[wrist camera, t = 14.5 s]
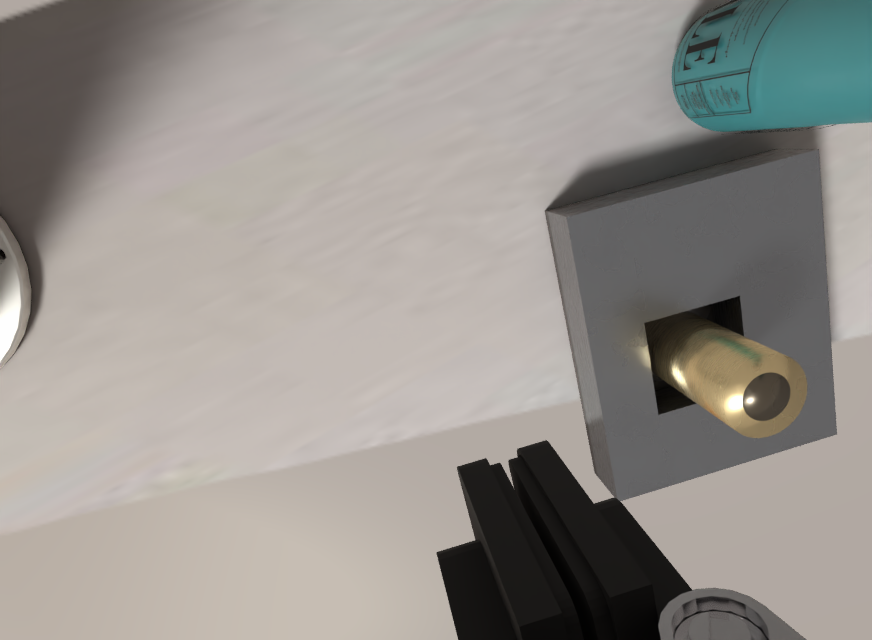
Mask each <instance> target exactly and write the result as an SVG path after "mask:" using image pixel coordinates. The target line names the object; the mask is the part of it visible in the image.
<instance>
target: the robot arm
mask: <svg viewBox="0 0 872 640" xmlns="http://www.w3.org/2000/svg"><path fill="white" fill-rule="evenodd" d="M1 249H2V250H3V252H4V253H5V256H6V258H4V257H2V256H1V255H0V369H1V368H2V367H3V366H4V364H5V363H6V362H7V361H8V360H9V359H10V358H11V356H12V355H13V354H14V353H15V351H16V349H17V347H18V345H19V343H20V342H21V340H22V338H23V336H24V334H25V331H26V327H27V323H28V319H29V316H30V310H31V285H30V279H29V273H28V267H27V264H26V262H25V259H24V256H23V254H22V251H21V249H20V246H19V243H18V242H17V240H16V238H15V237H14V235H13V234H12V232H11V230H10V229H9V227H8V225H7V224H6V222H5V221H4V219H3V218H2V217H1V216H0V250H1ZM517 456H518V457H517V458H514V459H511V460H509V468H510V472H511V476H512V481H513V485H514V488H513V486H512V484H511V482H510V480H509V478H508V477H507V475H506V473H505V471H504V469H503V467H502V465H501V464H500V463H497V464H494V465H489V462H488V460H487V459H486V458H485V459H482V460H478V461H475V462H472V463H468V464H465V465H462V466H458V467H457V470H458V474H459V478H460V482H461V486H462V490H463V494H464V498H465V501H466V505H467V509H468V513H469V517H470V520H471V524H472V528H473V532H474V536H475V541H472V542H469V543H465V544H462V545H459V546H456V547H452V548H449V549H446V550H443V551H439V552H437V556H438V561H439V565H440V569H441V572H442V576H443V580H444V584H445V588H446V592H447V596H448V600H449V604H450V608H451V612H452V616H453V620H454V624H455V628H456V632H457V636H458V640H806V639H805V638H804V637H803V636H801V635H800V634H799V633H798V632H796V631H795V630H794V629H792V628H791V627H790V626H789V625H788V624H787V623H785V622H784V621H783V620H782V619H780V618H779V617H778V616H777V615H775V614H774V613H773V612H772V611H770V610H769V609H768V608H767V607H766V606H764V605H763V604H761V603H759V602H758V601H756V600H755V599H753V598H751V597H750V596H747V595H744V594H741V593H738V592H735V591H733V590H726V589H719V588H705V589H695V590H692V589H691V588H690V587H689V585H688V584H687V583H686V582H685V580H684V579H683V578H682V577H681V576H680V574H679V573H678V572H677V571H676V569H675V568H674V567H673V566H672V564H671V563H670V562H669V561H668V559H666V557H665V556H664V555H663V553H662V552H661V551H660V550H659V548H658V547H657V546H656V545H655V543H654V542H653V541H652V540H651V539H650V537H649V536H648V535H647V534H646V532H645V531H644V530H643V529H642V528H641V526H640V525H639V524H638V523H637V521H636V520H635V519H634V518H633V516H632V515H631V514H630V513H629V512H628V510H627V509H626V508H625V506H623V504H622V503H621V502H620V501H619V500H618V499H617V498H611V499H608V500H605V501H601V502H598V503H595V504H593V502H592V501H591V499H590V498H589V497H588V495H587V494H586V493H585V491H584V490H583V488H582V487H581V486H580V484H579V483H578V482H577V480H576V479H575V477H574V476H573V475H572V473H571V472H570V471H569V469H568V468H567V467H566V465H565V464H564V462H563V461H562V460H561V459H560V457H559V456H558V454H557V453H556V451H555V450H554V449H553V447H552V446H551V445H550V443H549V442H548V441H547V440H546V441H542V442H539V443H535V444H532V445H529V446H526V447H522V448H519V449H518V450H517ZM514 489H515V490H514Z"/></svg>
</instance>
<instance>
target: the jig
mask: <svg viewBox="0 0 872 640" xmlns="http://www.w3.org/2000/svg"><path fill="white" fill-rule="evenodd" d="M545 214H546V220H547V225H548V230H549V235H550V241H551V246H552V251H553V256H554V262H555V267H556V272H557V277H558V283H559V288H560V293H561V298H562V304H563V309H564V314H565V319H566V325H567V330H568V335H569V340H570V346H571V351H572V356H573V361H574V367H575V372H576V377H577V382H578V388H579V393H580V398H581V403H582V408H583V413H584V419H585V424H586V430H587V435H588V440H589V445H590V450H591V455H592V460H593V466H594V471H595V474H596V475H597V476H598V477H599V479H600V480H601V481H602V482H603V484H604V485H605V486H606V487H607V489H608V490H609V491H610V492H611V494H612V495H613V496H614V497H615V498H617V499H618V500H619V501H623V500H626V499H629V498H632V497H635V496H639V495H642V494H645V493H648V492H652V491H655V490H658V489H661V488H665V487H668V486H671V485H674V484H677V483H681V482H684V481H687V480H691V479H694V478H697V477H700V476H703V475H707V474H710V473H713V472H716V471H719V470H723V469H726V468H729V467H733V466H736V465H739V464H742V463H746V462H749V461H752V460H755V459H758V458H762V457H765V456H768V455H771V454H774V453H778V452H781V451H784V450H788V449H791V448H794V447H797V446H801V445H804V444H807V443H810V442H813V441H817V440H820V439H823V438H826V437H830V436H833V435H836V434H837V429H836V412H835V397H834V382H833V365H832V350H831V334H830V318H829V302H828V287H827V271H826V255H825V240H824V224H823V208H822V193H821V177H820V161H819V149H774V150H770V151H767V152H763V153H759V154H755V155H752V156H748V157H744V158H740V159H737V160H733V161H729V162H726V163H722V164H718V165H714V166H711V167H707V168H703V169H699V170H696V171H692V172H688V173H684V174H681V175H677V176H673V177H670V178H666V179H662V180H658V181H655V182H651V183H647V184H643V185H640V186H636V187H632V188H628V189H625V190H621V191H617V192H614V193H610V194H606V195H602V196H599V197H595V198H591V199H587V200H584V201H580V202H576V203H572V204H569V205H565V206H561V207H558V208H554V209H550V210H546V211H545ZM685 311H689V312H691V313H694V314H696V315H698V316H700V317H702V318H705V319H707V320H709V321H711V322H713V323H716V324H718V325H720V326H722V327H724V328H727V329H729V330H731V331H733V332H735V333H738V334H740V335H742V336H744V337H746V338H749V339H751V340H753V341H755V342H757V343H760V344H762V345H764V346H766V347H768V348H771V349H773V350H775V351H777V352H779V353H782V354H784V355H786V356H788V357H790V358H792V359H794V360H795V361H796V362H797V363H798V364H799V365H800V366H801V368H802V369H803V371H804V373H805V376H806V379H807V396H806V400H805V403H804V406H803V408H802V410H801V412H800V413H799V415H798V416H797V417H796V419H795V420H794V421H793V422H792V423H791V424H790V425H789V426H788V427H787V428H785V429H784V430H782V431H781V432H779V433H777V434H775V435H772V436H769V437H765V438H751V437H747V436H744V435H742V434H740V433H738V432H737V431H735V430H734V429H733V428H731V427H730V426H728V425H727V424H725V423H724V422H723V421H721V420H720V419H718V418H717V417H715V416H714V415H713V414H711V413H710V412H708V411H707V410H705V409H704V408H703V407H701V406H700V405H698V404H697V403H695V402H694V401H693V400H691V399H690V398H688V397H687V396H685V395H684V394H682V393H681V392H680V391H678V390H677V389H675V388H674V387H672V386H671V385H670V384H668V383H667V382H665V381H664V380H662V379H661V378H660V377H658V376H657V375H655V374H654V373H652V370H651V364H650V357H649V351H648V344H647V338H646V331H645V324H644V323H646V322H650V321H653V320H657V319H660V318H664V317H667V316H671V315H674V314H678V313H681V312H685Z"/></svg>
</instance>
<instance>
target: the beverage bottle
mask: <svg viewBox="0 0 872 640" xmlns="http://www.w3.org/2000/svg"><path fill="white" fill-rule="evenodd" d="M734 1H737V0H731V1H730V2H729V3H727V4H724V3H723V4H724V5H722V6H720V7H717V8H716V9H714V8H713V9H714V10H713V11H712V12H710V13H708V12H707V13H708V14H707V15H705V16H704V17H702V18H701V19H700V20H699V21H697V20H698V19H697V20H696V21H697V22H696V21H695V22H696V23H695V22H694V23H695V24H694V23H693V24H694V25H693V24H692V25H693V27H692V28H691V27H690V28H691V29H690V28H689V29H690V30H689V31H687V33H686V34H685V36H684V38H683V39H682V41H681V43H680V45H679V47H678V49H677V51H676V54H675V58H674V62H673V67H672V85H673V91H674V94H675V97H676V100H677V102H678V104H679V106H680V108H681V109H682V111H683V112H684V114H685V115H686V116H687V117H688V118H689V119H691V120H692V121H693V122H695V123H696V124H698V125H700V126H702V127H704V128H706V129H709V130H713V131H720V132H730V131H744V132H745V131H746V130H747V131H748V130H753V131H754V130H758V132H759V133H760V131H759V130H762V129H764V130H765V129H774V130H775V129H778V128H793V129H794V127H810V126H819V125H828V124H834V125H836V124H847V123H867V122H872V0H740V1H738V2H735V3H733V4H730V3H732V2H734ZM728 4H730V5H728ZM726 5H727V6H726ZM724 6H725V7H724ZM708 11H709V10H708ZM705 13H706V12H705ZM700 17H701V16H700ZM700 17H699V18H700ZM831 126H833V125H831ZM828 127H829V126H828ZM810 128H811V127H810ZM823 128H825V127H823ZM801 129H802V128H801ZM808 129H809V128H808ZM819 129H820V128H819ZM790 130H791V129H789V131H790ZM795 130H797V129H795ZM795 130H794V131H795ZM798 130H799V131H801V130H800V129H798ZM813 130H814V129H813ZM762 131H763V130H762ZM762 131H761V132H762ZM767 131H768V130H767ZM775 131H776V130H775ZM783 131H785V130H783ZM791 131H792V130H791ZM756 132H757V131H756ZM756 132H752V133H756ZM764 132H765V131H764ZM764 132H763V133H764ZM771 132H774V131H772V130H771ZM776 132H777V131H776ZM778 132H779V130H778ZM781 132H782V131H781ZM786 132H787V129H786ZM741 133H742V132H741ZM748 133H749V131H748V132H747V134H748ZM767 133H769V131H768V132H767ZM734 134H738V133H734ZM743 134H744V133H743ZM749 134H751V131H750V133H749ZM722 135H723V134H722Z"/></svg>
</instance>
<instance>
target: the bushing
mask: <svg viewBox="0 0 872 640" xmlns="http://www.w3.org/2000/svg"><path fill="white" fill-rule="evenodd" d="M644 324H645V331H646V338H647V344H648V351H649V357H650V364H651V370H652V373H654V374H655V375H657V376H658V377H660V378H661V379H662V380H664V381H665V382H667V383H668V384H670V385H671V386H672V387H674V388H675V389H677V390H678V391H680V392H681V393H682V394H684V395H685V396H687V397H688V398H690V399H691V400H693V401H694V402H695V403H697V404H698V405H700V406H701V407H703V408H704V409H705V410H707V411H708V412H710V413H711V414H713V415H714V416H715V417H717V418H718V419H720V420H721V421H723V422H724V423H725V424H727V425H728V426H730V427H731V428H733V429H734V430H735V431H737V432H738V433H740V434H742V435H744V436H747V437H751V438H765V437H769V436H772V435H775V434H777V433H779V432H781V431H782V430H784V429H785V428H787V427H788V426H789V425H790V424H791V423H792V422H793V421H794V420H795V419H796V417H797V416H798V415H799V413H800V412H801V410H802V408H803V406H804V403H805V400H806V396H807V379H806V376H805V373H804V371H803V369H802V368H801V366H800V365H799V364H798V363H797V362H796V361H795V360H794V359H792V358H790V357H788V356H786V355H784V354H782V353H779V352H777V351H775V350H773V349H771V348H768V347H766V346H764V345H762V344H760V343H757V342H755V341H753V340H751V339H749V338H746V337H744V336H742V335H740V334H738V333H735V332H733V331H731V330H729V329H727V328H724V327H722V326H720V325H718V324H716V323H713V322H711V321H709V320H707V319H705V318H702V317H700V316H698V315H696V314H694V313H691V312H689V311H685V312H681V313H678V314H674V315H671V316H667V317H664V318H660V319H657V320H653V321H650V322H646V323H644Z"/></svg>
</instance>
